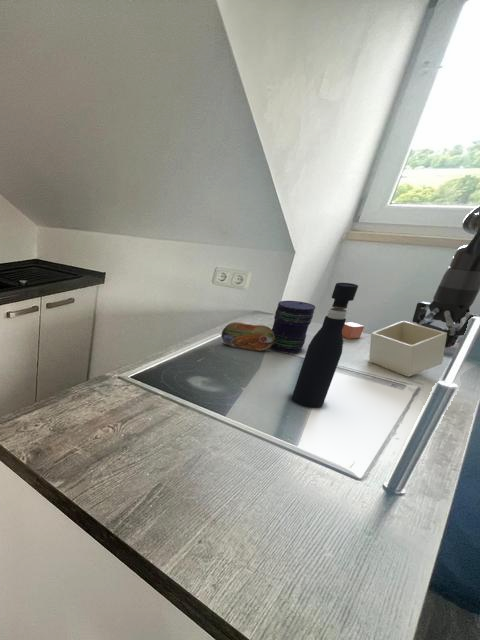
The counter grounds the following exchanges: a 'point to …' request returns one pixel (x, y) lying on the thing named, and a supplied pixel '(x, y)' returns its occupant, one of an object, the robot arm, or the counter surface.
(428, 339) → the bin
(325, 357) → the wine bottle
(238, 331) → the tin
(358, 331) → the block
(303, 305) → the storage jar
